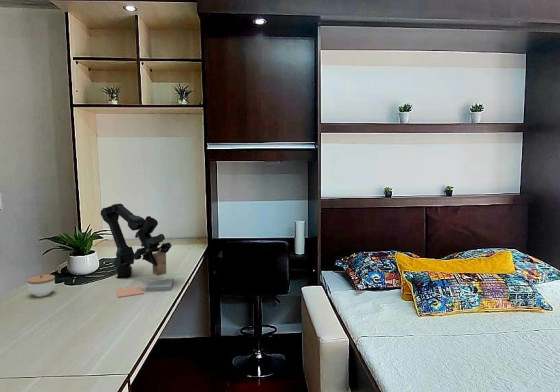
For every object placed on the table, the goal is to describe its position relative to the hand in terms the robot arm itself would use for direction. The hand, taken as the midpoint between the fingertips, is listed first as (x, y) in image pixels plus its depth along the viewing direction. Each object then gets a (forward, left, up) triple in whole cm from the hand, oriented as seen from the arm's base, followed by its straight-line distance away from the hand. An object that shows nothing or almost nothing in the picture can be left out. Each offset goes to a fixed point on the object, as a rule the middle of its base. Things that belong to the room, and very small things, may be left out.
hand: (161, 264), depth 191 cm
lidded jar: (-53, -1, -12) cm, 54 cm away
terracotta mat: (-14, -4, -11) cm, 19 cm away
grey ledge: (-1, +1, -11) cm, 12 cm away
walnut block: (-1, +1, -5) cm, 5 cm away
